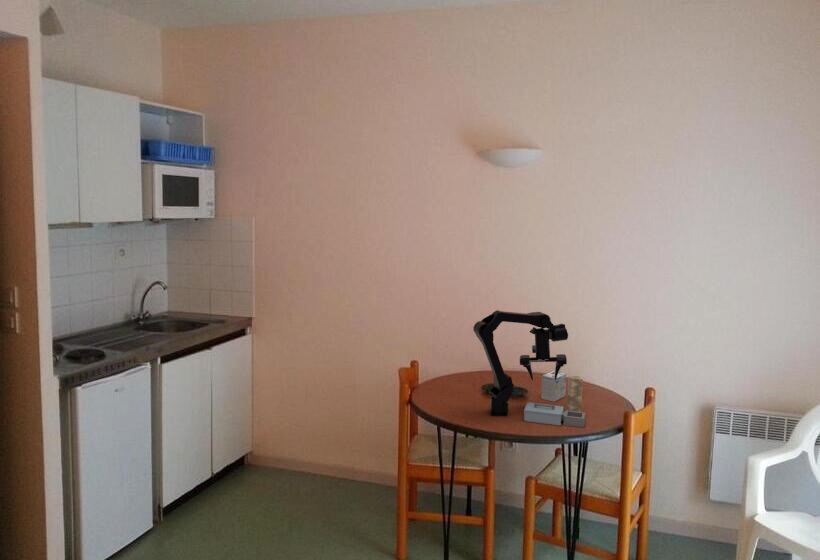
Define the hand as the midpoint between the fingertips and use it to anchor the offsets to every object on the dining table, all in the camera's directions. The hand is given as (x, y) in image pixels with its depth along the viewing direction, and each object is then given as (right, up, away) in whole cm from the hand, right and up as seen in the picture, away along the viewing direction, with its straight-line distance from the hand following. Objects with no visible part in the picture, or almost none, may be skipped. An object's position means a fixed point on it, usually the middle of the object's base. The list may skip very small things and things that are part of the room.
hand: (543, 379), depth 270 cm
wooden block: (+12, -14, -1) cm, 18 cm away
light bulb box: (+8, -11, +19) cm, 24 cm away
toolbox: (+2, -15, -10) cm, 18 cm away
